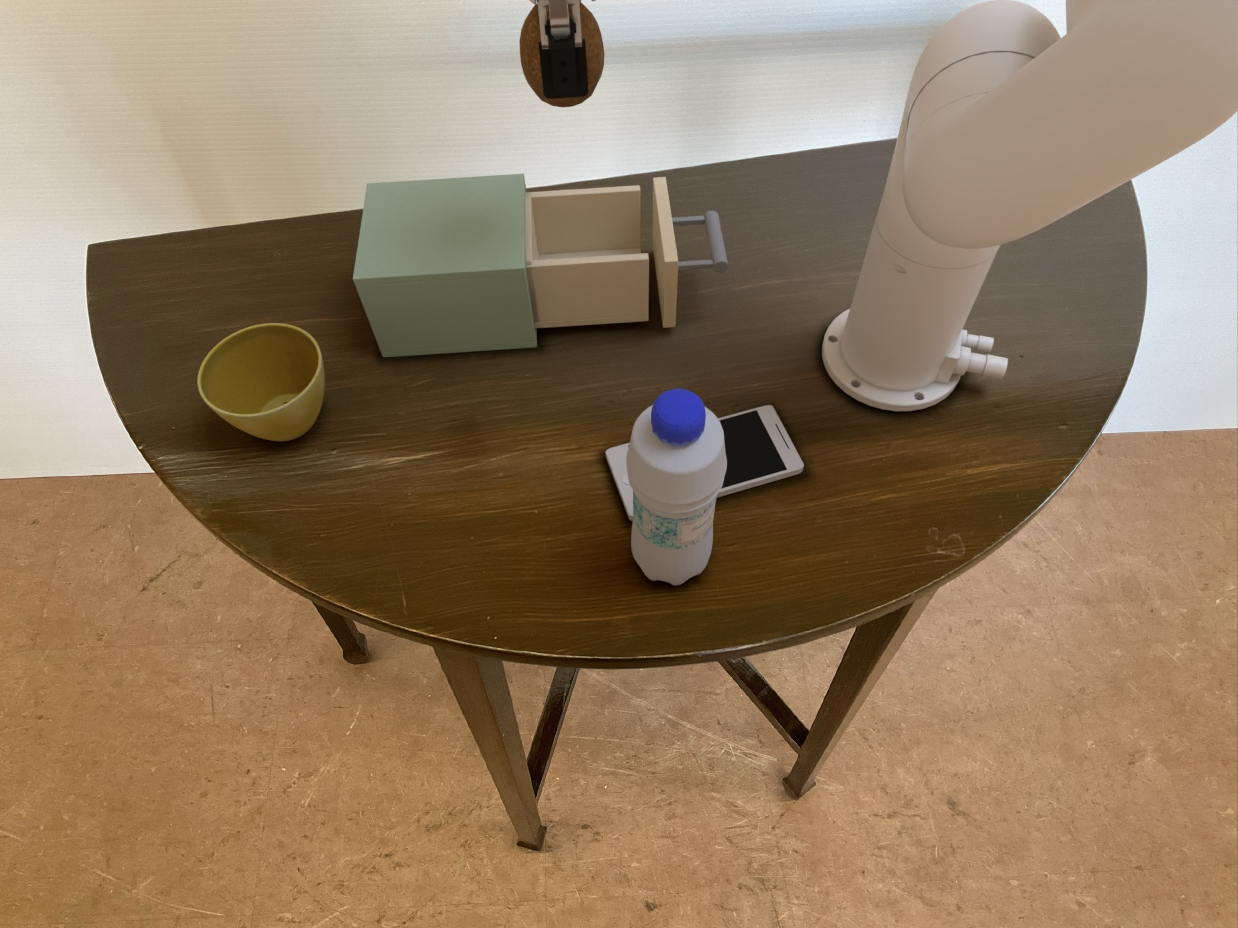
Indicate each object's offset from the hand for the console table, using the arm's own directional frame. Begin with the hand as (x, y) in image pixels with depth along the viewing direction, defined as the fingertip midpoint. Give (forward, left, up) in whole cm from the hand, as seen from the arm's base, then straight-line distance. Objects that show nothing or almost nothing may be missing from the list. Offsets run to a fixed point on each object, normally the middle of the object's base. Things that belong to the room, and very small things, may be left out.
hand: (564, 66), depth 63 cm
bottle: (-15, +25, -25) cm, 38 cm away
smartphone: (-16, +15, -25) cm, 33 cm away
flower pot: (+21, +20, -25) cm, 39 cm away
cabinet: (+12, +3, -25) cm, 28 cm away
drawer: (-4, -3, -24) cm, 24 cm away
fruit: (0, 0, -3) cm, 3 cm away
